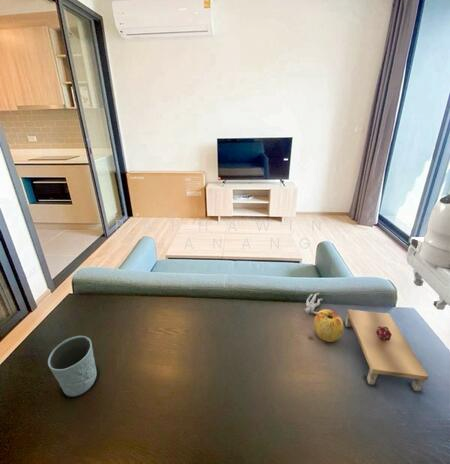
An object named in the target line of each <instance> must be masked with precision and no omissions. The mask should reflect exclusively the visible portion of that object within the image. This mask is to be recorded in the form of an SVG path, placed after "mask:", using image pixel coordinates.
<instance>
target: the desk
mask: <svg viewBox="0 0 450 464" xmlns="http://www.w3.org/2000/svg"><path fill="white" fill-rule="evenodd" d="M346 314H347V315H346V318H345V322H344V324H345V327H346V328H352V329H353V331H354V333H355V336H356V338H357V341H358V343H359V345H360V349H361V350H362V353H363V355H364V357H365V359H366V362H367V364H368V367H369V370H368V373H367V377H366V381H367V383H368V385H373V386H375V383H376V381H377V377H378V375H386V376H392V377H400V378H407V379H413V380H412V382H411V387H412V389H413V391H415V392H421V391H422V388H423V386H424V384H425V381H428V379H429V375H428V373H427V372H426V369H425V368H424V367H423V365H422V363H421V362H420V361H419V359H418V357H417V356H416V354H415V352H414V351H413V349H412V348H411V346H410V345H409V343H408V341H407V340H406V338H405V337H404V335H403V333H402V331H401V330H400V328H399V327H398V325H397V324H396V322H395V320H394V319H393V317H392V316H391V314H390V313H387V312H377V311H368V310H357V309H349V308H348V309H346ZM378 326H379V327H387V328H388V329H389V331H390V333H391V334H392V335H391V338H390V340H389V341H388V340H380V338H379V336H378V335H377V333H376V331H377V329H378Z"/></svg>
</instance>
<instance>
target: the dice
mask: <svg viewBox="0 0 450 464" xmlns="http://www.w3.org/2000/svg"><path fill="white" fill-rule="evenodd" d="M376 333H377V335H378V336H379V338H380V340H388V341H389V340H390V338H391V335H392V334H391V333H390V331H389V329H388V328H387V327H379V326H378V329H377V331H376Z"/></svg>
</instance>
